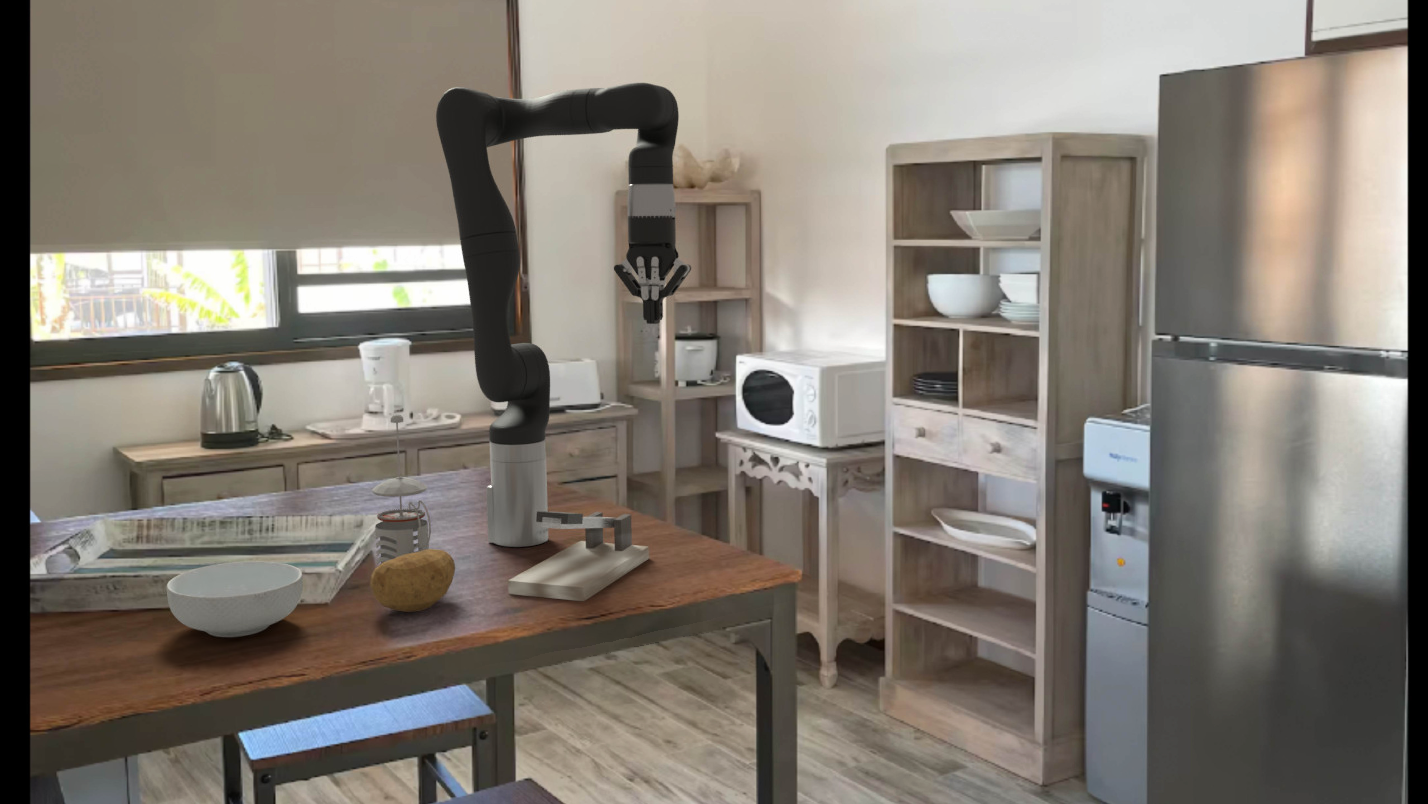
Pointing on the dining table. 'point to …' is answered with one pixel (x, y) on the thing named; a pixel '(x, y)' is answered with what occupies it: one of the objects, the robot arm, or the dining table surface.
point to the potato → (413, 580)
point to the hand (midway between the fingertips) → (653, 323)
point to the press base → (583, 565)
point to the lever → (572, 520)
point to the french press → (401, 516)
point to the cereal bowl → (235, 596)
